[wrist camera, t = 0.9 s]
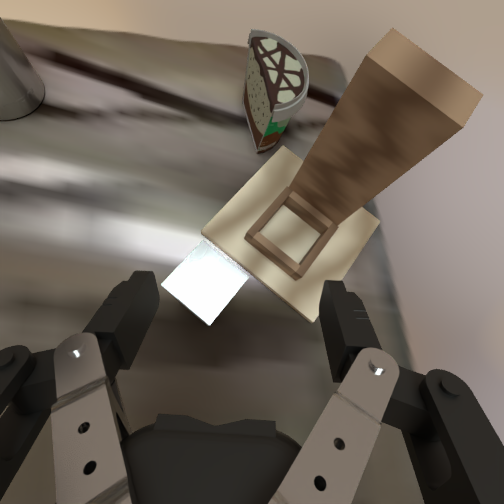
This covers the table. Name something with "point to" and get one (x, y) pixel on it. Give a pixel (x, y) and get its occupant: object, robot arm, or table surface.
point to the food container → (272, 87)
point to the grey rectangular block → (205, 282)
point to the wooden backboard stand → (342, 173)
